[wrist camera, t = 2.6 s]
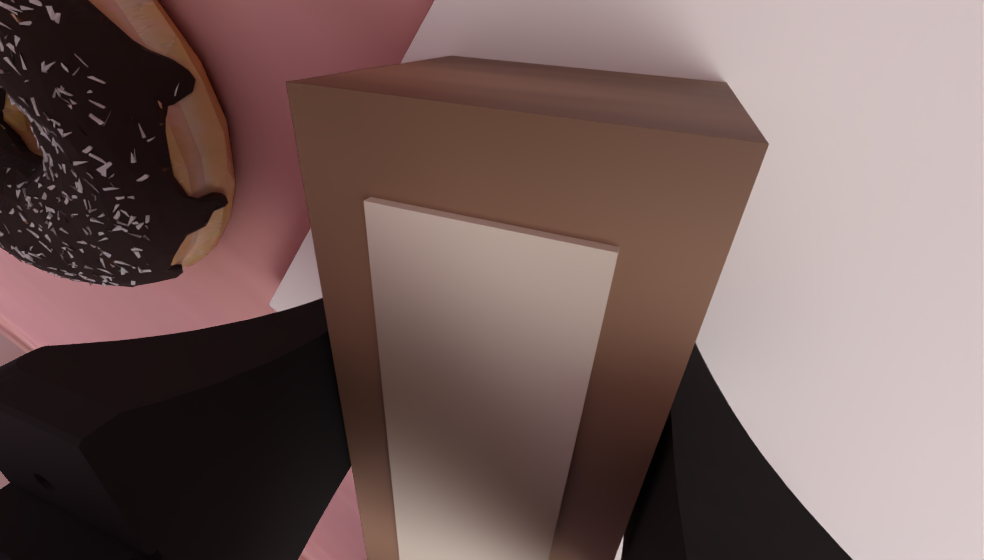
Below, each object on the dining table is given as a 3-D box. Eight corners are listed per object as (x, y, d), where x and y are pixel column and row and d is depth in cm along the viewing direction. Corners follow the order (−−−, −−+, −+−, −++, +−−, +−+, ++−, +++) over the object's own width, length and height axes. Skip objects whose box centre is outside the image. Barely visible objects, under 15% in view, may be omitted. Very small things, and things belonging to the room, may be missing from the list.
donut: (-93, -211, 12) (-393, -300, 8) (284, 6, 11) (114, 1, 8) (9, 161, 18) (-138, 192, 15) (250, 313, 17) (150, 381, 14)
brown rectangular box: (603, 487, 13) (572, 676, 9) (448, 434, 14) (366, 580, 11) (726, 82, 7) (770, 148, 4) (451, 55, 9) (276, 83, 5)
